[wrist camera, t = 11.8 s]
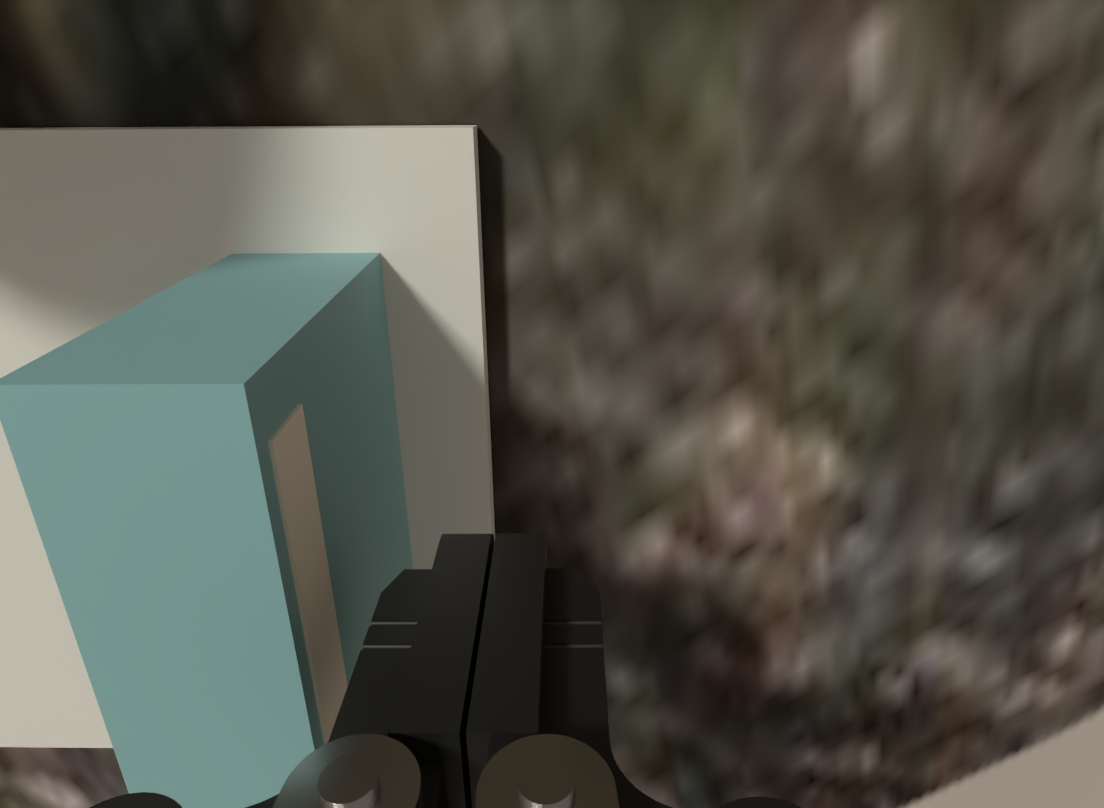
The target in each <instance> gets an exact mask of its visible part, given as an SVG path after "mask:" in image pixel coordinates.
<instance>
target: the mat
mask: <svg viewBox="0 0 1104 808" xmlns="http://www.w3.org/2000/svg"><path fill="white" fill-rule="evenodd" d="M259 253H380V258H381V268H382V277H383V287H384V296H385V306H386V315H387V325H388V334H389V344H390V353H391V363H392V372H393V382H394V391H395V401H396V410H397V420H398V429H399V439H400V448H401V458H402V468H403V477H404V487H405V496H406V506H407V515H408V525H409V534H410V544H411V553H412V563H413V569H432V567H433V563H434V559H435V556H436V552H437V548H438V545H439V541H440V538H441V535H442V534H493V536H494V541H495V522H494V499H493V477H492V454H491V431H490V409H489V386H488V364H487V341H486V318H485V296H484V273H483V250H482V228H481V205H480V182H479V160H478V137H477V125H421V126H241V127H61V128H0V378H2V377H4V376H5V375H7V374H9V373H11V372H13V371H15V370H17V369H18V368H20V367H22V366H24V365H26V364H28V363H30V362H31V361H33V360H35V359H37V358H39V357H41V356H43V355H44V354H46V353H48V352H50V351H52V350H54V349H56V348H57V347H59V346H61V345H63V344H65V343H67V342H69V341H70V340H72V339H74V338H76V337H78V336H80V335H82V334H84V333H85V332H87V331H89V330H91V329H93V328H95V327H97V326H98V325H100V324H102V323H104V322H106V321H108V320H110V319H111V318H113V317H115V316H117V315H119V314H121V313H123V312H124V311H126V310H128V309H130V308H132V307H134V306H136V305H137V304H139V303H141V302H143V301H145V300H147V299H149V298H150V297H152V296H154V295H156V294H158V293H160V292H162V291H163V290H165V289H167V288H169V287H171V286H173V285H175V284H176V283H178V282H180V281H182V280H184V279H186V278H188V277H189V276H191V275H193V274H195V273H197V272H199V271H201V270H202V269H204V268H206V267H208V266H210V265H212V264H214V263H215V262H217V261H219V260H221V259H223V258H225V257H227V256H228V255H230V254H259ZM0 747H61V748H113V746H112V743H111V740H110V737H109V734H108V731H107V729H106V726H105V723H104V720H103V717H102V714H101V711H100V708H99V705H98V702H97V700H96V697H95V694H94V691H93V688H92V685H91V682H90V679H89V676H88V673H87V671H86V668H85V665H84V662H83V659H82V656H81V653H80V650H79V647H78V644H77V641H76V639H75V636H74V633H73V630H72V627H71V624H70V621H69V618H68V615H67V612H66V610H65V607H64V604H63V601H62V598H61V595H60V592H59V589H58V586H57V583H56V581H55V578H54V575H53V572H52V569H51V566H50V563H49V560H48V557H47V554H46V552H45V549H44V546H43V543H42V540H41V537H40V534H39V531H38V528H37V525H36V523H35V520H34V517H33V514H32V511H31V508H30V505H29V502H28V499H27V496H26V493H25V491H24V488H23V485H22V482H21V479H20V476H19V473H18V470H17V467H16V464H15V462H14V459H13V456H12V453H11V450H10V447H9V444H8V441H7V438H6V435H5V433H4V430H3V427H2V424H1V421H0Z"/></svg>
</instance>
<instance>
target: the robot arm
mask: <svg viewBox="0 0 1104 808" xmlns="http://www.w3.org/2000/svg"><path fill="white" fill-rule="evenodd" d="M90 808H182V807H181V805H180V804H178V803H177V802H176V801H175V800H174V799H172V798H170V797H168V796H166V795H162V794H158V793H150V792H140V793H130V794H126V795H121V796H117V797H114V798H111V799H108V800H106V801H103V802H101V803H99V804H96V805H94V806H92V807H90ZM245 808H672V807H669V806H667V805H664V804H661V803H659V802H657V801H655V800H653V799H652V798H650V797H648V796H646V795H645V794H644V793H642V792H641V791H640V790H638V789H637V788H636V787H635V786H634V785H633V784H632V783H631V782H629V781H628V780H627V778H626V777H625V776H624V774H623V773H622V772H621V771H620V769H619V767H618V765H617V764H616V762H615V760H614V757H613V754H612V751H611V747H610V741H609V727H608V712H607V697H606V682H605V667H604V652H603V637H602V625H601V608H600V593H599V591H598V589H597V588H596V586H595V585H594V583H593V582H592V581H591V579H590V578H589V576H588V575H587V573H586V572H585V571H584V569H583V568H573V569H548V568H547V535H546V533H497V534H496V537H495V541H494V536H493V534H442V535H441V538H440V541H439V545H438V548H437V552H436V556H435V559H434V563H433V567H432V569H404V570H403V571H402V572H401V573H400V574H399V575H398V576H397V577H396V578H395V579H394V580H393V581H392V582H391V583H390V584H389V585H388V586H387V587H386V588H385V589H384V590H383V591H382V592H381V594H380V597H379V600H378V603H377V606H376V608H375V611H374V614H373V617H372V620H371V626H369V628H368V631H367V634H366V637H365V639H364V642H363V650H361V651H360V653H359V656H358V659H357V662H356V665H355V668H354V670H353V673H352V676H351V679H350V682H349V684H348V687H347V690H346V693H345V696H344V699H343V701H342V704H341V707H340V710H339V713H338V715H337V718H336V721H335V724H334V727H333V730H332V732H331V735H330V738H329V741H328V743H326V744H325V745H323V746H321V747H319V748H318V749H316V750H314V751H313V752H312V753H310V754H309V755H308V756H306V757H305V758H304V759H303V760H302V761H301V762H300V763H299V764H298V765H297V766H296V767H295V768H294V770H293V771H292V772H291V773H290V775H289V776H288V778H287V780H286V781H285V783H284V785H283V787H282V789H281V791H280V793H279V794H277V795H275V796H273V797H271V798H269V799H267V800H265V801H263V802H260V803H257V804H254V805H251V806H249V807H245ZM721 808H801V807H799V806H797V805H794V804H792V803H789V802H787V801H783V800H779V799H775V798H768V797H747V798H743V799H738V800H735V801H733V802H730V803H728V804H726V805H724V806H723V807H721Z"/></svg>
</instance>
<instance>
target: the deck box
mask: <svg viewBox="0 0 1104 808" xmlns="http://www.w3.org/2000/svg"><path fill="white" fill-rule="evenodd" d="M0 421H1V424H2V427H3V430H4V433H5V435H6V438H7V441H8V444H9V447H10V450H11V453H12V456H13V459H14V462H15V464H16V467H17V470H18V473H19V476H20V479H21V482H22V485H23V488H24V491H25V493H26V496H27V499H28V502H29V505H30V508H31V511H32V514H33V517H34V520H35V523H36V525H37V528H38V531H39V534H40V537H41V540H42V543H43V546H44V549H45V552H46V554H47V557H48V560H49V563H50V566H51V569H52V572H53V575H54V578H55V581H56V583H57V586H58V589H59V592H60V595H61V598H62V601H63V604H64V607H65V610H66V612H67V615H68V618H69V621H70V624H71V627H72V630H73V633H74V636H75V639H76V641H77V644H78V647H79V650H80V653H81V656H82V659H83V662H84V665H85V668H86V671H87V673H88V676H89V679H90V682H91V685H92V688H93V691H94V694H95V697H96V700H97V702H98V705H99V708H100V711H101V714H102V717H103V720H104V723H105V726H106V729H107V731H108V734H109V737H110V740H111V743H112V746H113V749H114V752H115V755H116V758H117V760H118V763H119V766H120V769H121V772H122V775H123V778H124V781H125V784H126V787H127V789H128V792H129V794H130V793H140V792H150V793H158V794H162V795H166V796H168V797H170V798H172V799H174V800H175V801H176V802H177V803H178V804H180V805H181V807H182V808H245V807H249V806H251V805H254V804H257V803H260V802H263V801H265V800H267V799H269V798H271V797H273V796H275V795H277V794H279V793H280V791H281V789H282V787H283V785H284V783H285V781H286V780H287V778H288V776H289V775H290V773H291V772H292V771H293V770H294V768H295V767H296V766H297V765H298V764H299V763H300V762H301V761H302V760H303V759H304V758H305V757H306V756H308V755H309V754H310V753H312V752H313V751H314V750H316V749H318V748H319V747H321V746H323V745H325V744H326V743H328V741H329V738H330V735H331V732H332V730H333V727H334V724H335V721H336V718H337V715H338V713H339V710H340V707H341V704H342V701H343V699H344V696H345V693H346V690H347V687H348V684H349V682H350V679H351V676H352V673H353V670H354V668H355V665H356V662H357V659H358V656H359V653H360V651H361V650H363V642H364V639H365V637H366V634H367V631H368V628H369V626H371V620H372V617H373V614H374V611H375V608H376V606H377V603H378V600H379V597H380V594H381V592H382V591H383V590H384V589H385V588H386V587H387V586H388V585H389V584H390V583H391V582H392V581H393V580H394V579H395V578H396V577H397V576H398V575H399V574H400V573H401V572H402V571H403V570H404V569H413V563H412V553H411V544H410V534H409V525H408V515H407V506H406V496H405V487H404V477H403V468H402V458H401V448H400V439H399V429H398V420H397V410H396V401H395V391H394V382H393V372H392V363H391V353H390V344H389V334H388V325H387V315H386V306H385V296H384V287H383V277H382V268H381V258H380V253H259V254H230V255H228V256H227V257H225V258H223V259H221V260H219V261H217V262H215V263H214V264H212V265H210V266H208V267H206V268H204V269H202V270H201V271H199V272H197V273H195V274H193V275H191V276H189V277H188V278H186V279H184V280H182V281H180V282H178V283H176V284H175V285H173V286H171V287H169V288H167V289H165V290H163V291H162V292H160V293H158V294H156V295H154V296H152V297H150V298H149V299H147V300H145V301H143V302H141V303H139V304H137V305H136V306H134V307H132V308H130V309H128V310H126V311H124V312H123V313H121V314H119V315H117V316H115V317H113V318H111V319H110V320H108V321H106V322H104V323H102V324H100V325H98V326H97V327H95V328H93V329H91V330H89V331H87V332H85V333H84V334H82V335H80V336H78V337H76V338H74V339H72V340H70V341H69V342H67V343H65V344H63V345H61V346H59V347H57V348H56V349H54V350H52V351H50V352H48V353H46V354H44V355H43V356H41V357H39V358H37V359H35V360H33V361H31V362H30V363H28V364H26V365H24V366H22V367H20V368H18V369H17V370H15V371H13V372H11V373H9V374H7V375H5V376H4V377H2V378H0Z"/></svg>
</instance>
